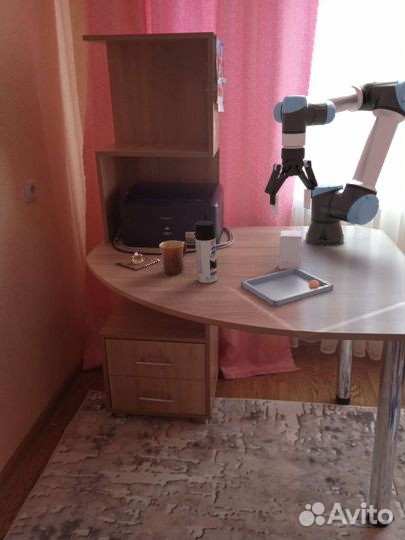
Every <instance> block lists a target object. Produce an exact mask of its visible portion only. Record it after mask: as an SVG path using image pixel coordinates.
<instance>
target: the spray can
mask: <svg viewBox="0 0 405 540" xmlns="http://www.w3.org/2000/svg"><path fill="white" fill-rule="evenodd" d="M194 238H195V239H194V240H195V254H196V255H195V256H196V259H195V260H196V272H197V273H196V275H197V281H198V282H199V283H201V284H212V283H216V281H217V280H218V269H217V268H218V264H217V263H218V262H217V260H218V259H217V243H216V242H217V240H216V238H217V236H216V224H215V222H214V221H212V220H199V221H196V222H195V223H194Z"/></svg>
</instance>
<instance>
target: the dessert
mask: <svg viewBox="0 0 405 540" xmlns="http://www.w3.org/2000/svg"><path fill="white" fill-rule="evenodd" d="M142 255H143V254H141V253H139V251H136V252H135V253H134V254H133V256H132V257H133V259H132V262H134V263H141V262H143V261H144V258H142ZM156 259H157V260H158V262H160V261H161V260H160V259H159V258H156ZM158 262H157V261H156V263H158ZM152 263H153V264H155V261H152V262H151V263H149V264H146V265H145V266H146V267H148V266H150V264H151V265H153V264H152ZM147 265H148V266H147Z"/></svg>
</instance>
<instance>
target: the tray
mask: <svg viewBox="0 0 405 540" xmlns="http://www.w3.org/2000/svg"><path fill="white" fill-rule="evenodd" d="M312 280H316V281H318V282H319V287H318V288H314V289H310V288H309V282H310V281H312ZM240 282H241V283H240V285H241V287H242V288H244V289H245V290H247V291H249V292H250V293H252V294H254V295H255V296H256V297H258V298H260V299H262V300H263V301H264V302H267V303H268V304H269V305H270V306H272V307H278V306H282V305H284V304H288V303H292V302H296V301H298V300H302V299H306V298H310V297H312V296H316V295H319V294H320V295H321V294H323V293H327V292H330V291H333V290H334V284H333V283H330V282H328V281H326V280H324V279H322V278H320V277H318V276H316V275H314V274H311V273H309V272H307V271H305V270H303V269H301V268H300V269H299V268H297V267H295V268H291V269H282V270H281V271H276V272H273V273H269V274H263V275H260V276H256V277H253V278H249V279H245V280H241V281H240Z"/></svg>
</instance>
